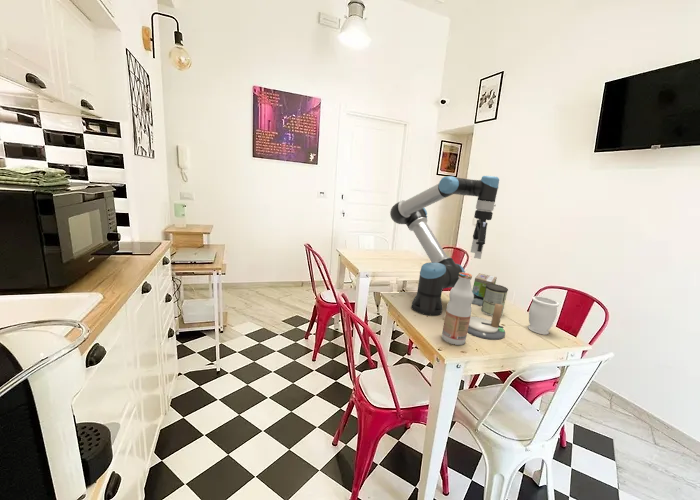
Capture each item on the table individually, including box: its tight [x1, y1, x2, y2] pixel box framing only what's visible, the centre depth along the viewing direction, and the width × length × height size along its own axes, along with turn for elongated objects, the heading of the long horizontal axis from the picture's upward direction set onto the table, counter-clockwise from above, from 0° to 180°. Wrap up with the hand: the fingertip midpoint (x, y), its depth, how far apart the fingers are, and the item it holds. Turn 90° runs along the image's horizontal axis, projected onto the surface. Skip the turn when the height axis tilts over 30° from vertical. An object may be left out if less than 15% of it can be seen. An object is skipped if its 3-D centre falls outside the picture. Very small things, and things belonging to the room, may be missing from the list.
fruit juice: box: [441, 272, 474, 346], centre depth 122 cm, size 9×9×28 cm
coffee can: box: [480, 283, 509, 317], centre depth 158 cm, size 10×10×14 cm
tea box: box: [472, 273, 497, 307], centre depth 173 cm, size 15×10×15 cm
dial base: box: [467, 327, 506, 341], centre depth 138 cm, size 20×20×1 cm
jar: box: [527, 295, 560, 336], centre depth 141 cm, size 11×10×15 cm
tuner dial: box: [469, 303, 504, 333], centre depth 137 cm, size 16×14×11 cm
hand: (475, 255), depth 146 cm, fingers open, 13 cm apart
